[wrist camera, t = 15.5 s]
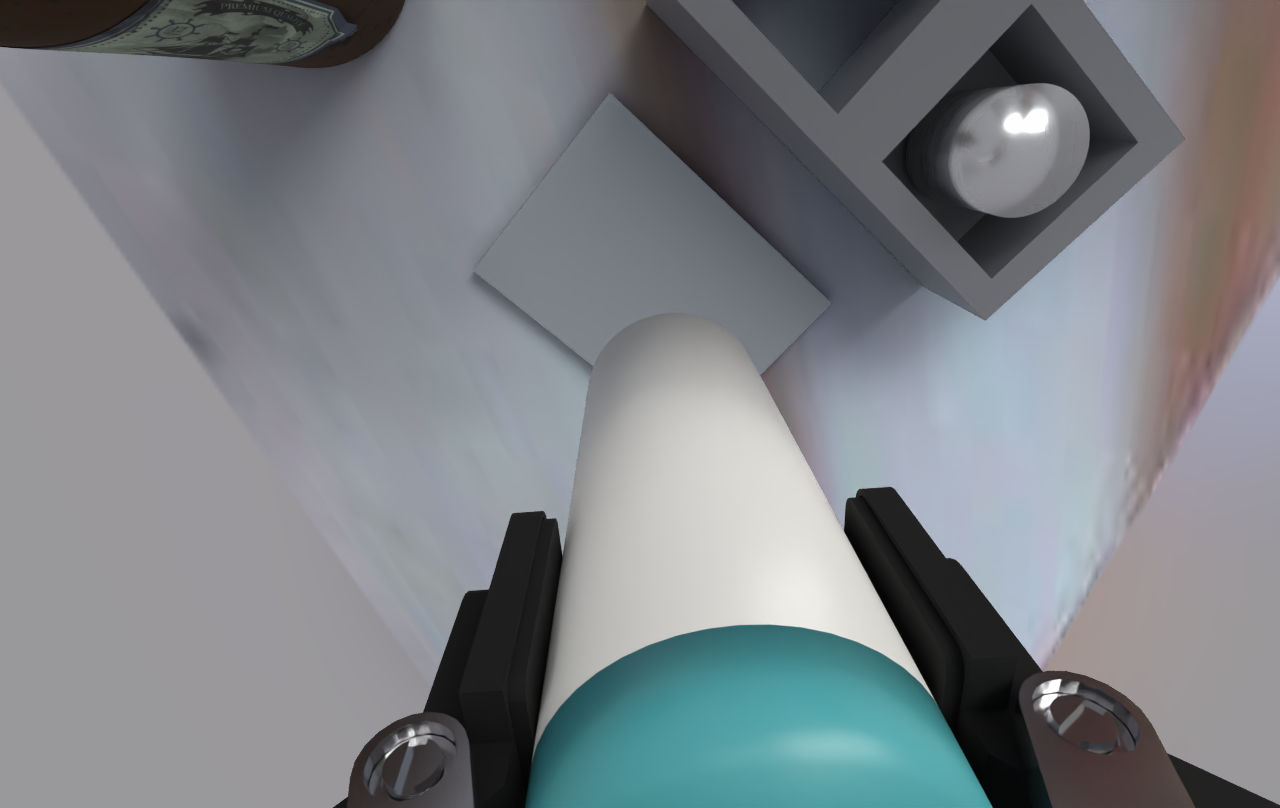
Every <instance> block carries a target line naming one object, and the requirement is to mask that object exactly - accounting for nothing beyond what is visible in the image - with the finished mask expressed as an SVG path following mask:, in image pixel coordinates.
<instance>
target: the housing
mask: <svg viewBox="0 0 1280 808" xmlns="http://www.w3.org/2000/svg"><path fill="white" fill-rule="evenodd" d="M646 5H647V6H648V7H649V8H650V9H651V10H652V11H653V12H654V13H655V14H656V15H657V16H658V17H659V18H660V19H661V20H662V21H663V22H664V23H665V24H666V25H667V26H668V27H669V28H670V29H671V30H672V31H673V32H674V33H675V34H676V35H677V36H678V37H679V38H680V39H681V40H682V42H683V43H684V44H685V45H686V46H687V47H688V48H689V49H690V50H691V51H692V52H693V53H694V54H695V55H696V56H697V57H698V58H699V59H700V60H701V61H702V62H703V63H704V64H705V65H706V66H707V67H708V68H709V69H710V70H711V71H712V72H713V73H714V74H715V75H716V76H717V77H718V78H719V79H720V80H721V81H722V82H723V83H724V84H725V85H726V86H727V87H728V88H729V89H730V90H731V91H732V92H733V93H734V94H735V95H736V96H737V97H738V99H739V100H740V101H741V102H742V103H743V104H744V105H745V106H746V107H747V108H748V109H749V110H750V111H751V112H752V113H753V114H754V115H755V116H756V117H757V118H758V119H759V120H760V121H761V122H762V123H763V124H764V125H765V126H766V127H767V128H768V129H769V130H770V131H771V132H772V133H773V134H774V135H775V136H776V137H777V138H778V139H779V140H780V141H781V142H782V143H783V144H784V145H785V146H786V147H787V148H788V149H789V150H790V151H791V152H792V153H793V154H794V155H795V157H796V158H797V159H798V160H799V161H800V162H801V163H802V164H803V165H804V166H805V167H806V168H807V169H808V170H809V171H810V172H811V173H812V174H813V175H814V176H815V177H816V178H817V179H818V180H819V181H820V182H821V183H822V184H823V185H824V186H825V187H826V188H827V189H828V190H829V191H830V192H831V193H832V194H833V195H834V196H835V197H836V198H837V199H838V200H839V201H840V202H841V203H842V204H843V205H844V206H845V207H846V208H847V209H848V210H849V211H850V212H851V214H852V215H853V216H854V217H855V218H856V219H857V220H858V221H859V222H860V223H861V224H862V225H863V226H864V227H865V228H866V229H867V230H868V231H869V232H870V233H871V234H872V235H873V236H874V237H875V238H876V239H877V240H878V241H879V242H880V243H881V244H882V245H883V246H884V247H885V248H886V249H887V250H888V251H889V252H890V253H891V254H892V255H893V256H894V257H895V258H896V259H897V260H898V261H899V262H900V263H901V264H902V265H903V266H904V267H905V268H906V269H907V270H908V272H909V273H910V274H911V275H912V276H913V277H914V278H915V279H916V280H917V281H918V282H919V283H920V284H921V285H922V286H923V287H925V288H927V289H929V290H931V291H932V292H934V293H936V294H938V295H940V296H942V297H943V298H945V299H947V300H949V301H951V302H952V303H954V304H956V305H958V306H960V307H962V308H963V309H965V310H967V311H969V312H971V313H973V314H974V315H976V316H978V317H980V318H982V319H984V320H987V319H988V318H989V317H990V316H991V315H992V314H993V313H994V312H995V311H996V310H998V309H999V308H1000V307H1001V306H1002V305H1003V304H1004V303H1005V302H1006V301H1007V300H1009V299H1010V298H1011V297H1012V296H1013V295H1014V294H1015V293H1016V292H1017V291H1018V290H1020V289H1021V288H1022V287H1023V286H1024V285H1025V284H1026V283H1027V282H1028V281H1029V280H1031V279H1032V278H1033V277H1034V276H1035V275H1036V274H1037V273H1038V272H1039V271H1040V270H1042V269H1043V268H1044V267H1045V266H1046V265H1047V264H1048V263H1049V262H1050V261H1052V260H1053V259H1054V258H1055V257H1056V256H1057V255H1058V254H1059V253H1060V252H1061V251H1063V250H1064V249H1065V248H1066V247H1067V246H1068V245H1069V244H1070V243H1071V242H1072V241H1074V240H1075V239H1076V238H1077V237H1078V236H1079V235H1080V234H1081V233H1082V232H1083V231H1085V230H1086V229H1087V228H1088V227H1089V226H1090V225H1091V224H1092V223H1093V222H1094V221H1096V220H1097V219H1098V218H1099V217H1100V216H1101V215H1102V214H1103V213H1104V212H1105V211H1107V210H1108V209H1109V208H1110V207H1111V206H1112V205H1113V204H1114V203H1115V202H1116V201H1118V200H1119V199H1120V198H1121V197H1122V196H1123V195H1124V194H1125V193H1126V192H1127V191H1129V190H1130V189H1131V188H1132V187H1133V186H1134V185H1135V184H1136V183H1137V182H1138V181H1140V180H1141V179H1142V178H1143V177H1144V176H1145V175H1146V174H1147V173H1148V172H1150V171H1151V170H1152V169H1153V168H1154V167H1155V166H1156V165H1157V164H1158V163H1159V162H1161V161H1162V160H1163V159H1164V158H1165V157H1166V156H1167V155H1168V154H1169V153H1170V152H1172V151H1173V150H1174V149H1175V148H1176V147H1177V146H1178V145H1179V144H1180V143H1181V142H1183V141H1184V140H1185V137H1184V136H1183V135H1182V133H1181V132H1180V131H1179V129H1178V128H1177V127H1176V125H1175V124H1174V123H1173V121H1172V120H1171V119H1170V117H1169V116H1168V115H1167V113H1166V112H1165V111H1164V109H1163V108H1162V106H1161V105H1160V104H1159V102H1158V101H1157V100H1156V98H1155V97H1154V96H1153V94H1152V93H1151V92H1150V90H1149V89H1148V88H1147V86H1146V85H1145V84H1144V82H1143V81H1142V80H1141V78H1140V77H1139V75H1138V74H1137V73H1136V71H1135V70H1134V69H1133V67H1132V66H1131V65H1130V63H1129V62H1128V61H1127V59H1126V58H1125V57H1124V55H1123V54H1122V53H1121V51H1120V50H1119V49H1118V47H1117V46H1116V44H1115V43H1114V42H1113V40H1112V39H1111V38H1110V36H1109V35H1108V34H1107V32H1106V31H1105V30H1104V28H1103V27H1102V26H1101V24H1100V23H1099V22H1098V20H1097V19H1096V18H1095V16H1094V15H1093V13H1092V12H1091V11H1090V9H1089V8H1088V7H1087V5H1086V4H1085V3H1084V1H1083V0H899V1H898V2H897V3H896V5H895V6H894V7H893V8H892V9H891V10H890V11H889V12H888V14H887V15H886V16H885V17H884V18H883V19H882V20H881V22H880V23H879V24H878V25H877V26H876V27H875V28H874V30H873V31H872V32H871V33H870V34H869V35H868V36H867V37H866V39H865V40H864V41H863V42H862V43H861V44H860V45H859V47H858V48H857V49H856V50H855V51H854V52H853V53H852V55H851V56H850V57H849V58H848V59H847V60H846V61H845V62H844V64H843V65H842V66H841V67H840V68H839V69H838V70H837V72H836V73H835V74H834V75H833V76H832V77H831V78H830V80H829V81H828V82H827V83H826V84H825V85H824V86H823V87H822V89H821V90H820V91H819V92H817V91H816V90H815V89H814V88H813V87H812V86H811V85H810V84H809V83H808V82H807V81H806V80H805V79H804V77H803V76H802V75H801V74H800V73H799V72H798V71H797V70H796V69H795V68H794V67H793V66H792V65H791V64H790V62H789V61H788V60H787V59H786V58H785V57H784V56H783V55H782V54H781V53H780V52H779V51H778V50H777V49H776V47H775V46H774V45H773V44H772V43H771V42H770V41H769V40H768V39H767V38H766V37H765V36H764V35H763V34H762V32H761V31H760V30H759V29H758V28H757V27H756V26H755V25H754V24H753V23H752V22H751V21H750V20H749V19H748V17H747V16H746V15H745V14H744V13H743V12H742V11H741V10H740V9H739V8H738V7H737V6H736V5H735V4H734V2H733V1H732V0H647V2H646ZM1035 83H1046V84H1053V85H1056V86H1059V87H1061V88H1063V89H1065V90H1067V91H1069V92H1070V93H1071V94H1073V95H1074V96H1075V97H1076V98H1077V99H1078V101H1079V102H1080V103H1081V105H1082V106H1083V108H1084V110H1085V113H1086V115H1087V119H1088V122H1089V130H1090V141H1089V148H1088V152H1087V156H1086V159H1085V162H1084V165H1083V167H1082V169H1081V171H1080V173H1079V175H1078V176H1077V178H1076V179H1075V181H1074V182H1073V184H1072V185H1071V186H1070V188H1069V189H1068V190H1067V191H1066V192H1065V193H1064V194H1063V195H1062V196H1061V197H1060V198H1059V199H1058V200H1056V201H1055V202H1054V203H1052V204H1051V205H1049V206H1048V207H1046V208H1044V209H1043V210H1041V211H1039V212H1036V213H1034V214H1031V215H1027V216H1023V217H1016V218H1007V217H1000V216H996V215H991V214H987V213H983V212H979V211H975V210H971V209H967V208H963V207H959V206H955V205H951V204H947V203H943V202H939V201H936V200H933V199H930V198H928V197H927V196H925V195H924V194H922V193H921V192H920V191H919V190H918V189H917V188H916V186H915V185H914V184H913V182H912V180H911V178H910V176H909V173H908V169H907V163H906V151H907V144H908V141H909V137H910V135H911V132H912V130H913V128H914V127H915V126H916V125H917V124H918V123H919V122H920V121H921V120H922V119H923V118H924V117H925V116H926V114H927V113H928V112H929V111H930V110H931V109H932V108H933V107H934V106H935V105H936V104H937V103H938V102H939V101H940V100H941V99H942V98H943V97H944V96H947V95H949V94H951V93H955V92H958V91H965V90H975V89H985V88H995V87H1005V86H1015V85H1025V84H1035Z"/></svg>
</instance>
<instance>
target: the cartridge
mask: <svg viewBox="0 0 1280 808" xmlns="http://www.w3.org/2000/svg"><path fill="white" fill-rule="evenodd" d="M525 808H993V807H992V805H991V804H990V802H989V800H988V798H987V796H986V794H985V792H984V791H983V789H982V787H981V785H980V783H979V781H978V779H977V778H976V776H975V774H974V772H973V770H972V768H971V766H970V765H969V763H968V761H967V759H966V757H965V755H964V753H963V752H962V750H961V748H960V746H959V744H958V742H957V740H956V739H955V737H954V735H953V733H952V731H951V729H950V727H949V726H948V724H947V722H946V720H945V718H944V716H943V714H942V713H941V711H940V709H939V707H938V705H937V703H936V701H935V700H934V698H933V696H932V694H931V692H930V690H929V688H928V687H927V685H926V683H925V681H924V679H923V677H922V675H921V674H920V672H919V670H918V668H917V666H916V664H915V662H914V661H913V659H912V657H911V655H910V653H909V651H908V649H907V648H906V646H905V644H904V642H903V640H902V638H901V636H900V635H899V633H898V631H897V629H896V627H895V625H894V623H893V622H892V620H891V618H890V616H889V614H888V612H887V610H886V609H885V607H884V605H883V603H882V601H881V599H880V597H879V596H878V594H877V592H876V590H875V588H874V586H873V584H872V583H871V581H870V579H869V577H868V575H867V573H866V571H865V570H864V568H863V566H862V564H861V562H860V560H859V558H858V557H857V555H856V553H855V551H854V549H853V547H852V545H851V544H850V542H849V540H848V538H847V536H846V534H845V532H844V531H843V529H842V527H841V525H840V523H839V521H838V519H837V518H836V516H835V514H834V512H833V510H832V508H831V506H830V505H829V503H828V501H827V499H826V497H825V495H824V493H823V492H822V490H821V488H820V486H819V484H818V482H817V480H816V479H815V477H814V475H813V473H812V471H811V469H810V467H809V466H808V464H807V462H806V460H805V458H804V456H803V454H802V453H801V451H800V449H799V447H798V445H797V443H796V441H795V440H794V438H793V436H792V434H791V432H790V430H789V428H788V427H787V425H786V423H785V421H784V419H783V417H782V415H781V414H780V412H779V410H778V408H777V406H776V404H775V402H774V401H773V399H772V397H771V395H770V393H769V391H768V389H767V388H766V386H765V384H764V382H763V380H762V378H761V376H760V375H759V373H758V371H757V369H756V367H755V365H754V363H753V362H752V360H751V358H750V356H749V354H748V352H747V351H746V349H745V348H744V346H743V345H742V344H741V342H740V341H739V340H738V339H737V338H736V337H735V336H734V335H733V334H732V333H731V332H729V331H728V330H727V329H725V328H724V327H722V326H721V325H719V324H717V323H715V322H714V321H711V320H709V319H706V318H704V317H700V316H696V315H692V314H684V313H666V314H658V315H654V316H650V317H647V318H644V319H641V320H639V321H637V322H634V323H633V324H631V325H629V326H627V327H626V328H624V329H623V330H621V331H620V332H619V333H617V334H616V335H615V336H614V337H613V338H612V339H611V340H610V341H609V342H608V343H607V344H606V346H605V347H604V348H603V350H602V351H601V352H600V354H599V356H598V358H597V359H596V361H595V364H594V366H593V369H592V371H591V375H590V379H589V385H588V391H587V398H586V405H585V411H584V418H583V425H582V431H581V438H580V445H579V451H578V458H577V465H576V471H575V478H574V484H573V491H572V498H571V504H570V511H569V518H568V524H567V531H566V538H565V544H564V551H563V558H562V564H561V571H560V577H559V584H558V591H557V597H556V604H555V611H554V617H553V624H552V631H551V637H550V644H549V651H548V657H547V664H546V671H545V677H544V684H543V690H542V697H541V704H540V710H539V717H538V724H537V730H536V737H535V744H534V750H533V757H532V764H531V770H530V777H529V783H528V790H527V797H526V803H525Z"/></svg>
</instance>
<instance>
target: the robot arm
mask: <svg viewBox="0 0 1280 808" xmlns="http://www.w3.org/2000/svg"><path fill="white" fill-rule="evenodd" d="M844 532H845V534H846V536H847V538H848V540H849V542H850V544H851V545H852V547H853V549H854V551H855V553H856V555H857V557H858V558H859V560H860V562H861V564H862V566H863V568H864V570H865V571H866V573H867V575H868V577H869V579H870V581H871V583H872V584H873V586H874V588H875V590H876V592H877V594H878V596H879V597H880V599H881V601H882V603H883V605H884V607H885V609H886V610H887V612H888V614H889V616H890V618H891V620H892V622H893V623H894V625H895V627H896V629H897V631H898V633H899V635H900V636H901V638H902V640H903V642H904V644H905V646H906V648H907V649H908V651H909V653H910V655H911V657H912V659H913V661H914V662H915V664H916V666H917V668H918V670H919V672H920V674H921V675H922V677H923V679H924V681H925V683H926V685H927V687H928V688H929V690H930V692H931V694H932V696H933V698H934V700H935V701H936V703H937V705H938V707H939V709H940V711H941V713H942V714H943V716H944V718H945V720H946V722H947V724H948V726H949V727H950V729H951V731H952V733H953V735H954V737H955V739H956V740H957V742H958V744H959V746H960V748H961V750H962V752H963V753H964V755H965V757H966V759H967V761H968V763H969V765H970V766H971V768H972V770H973V772H974V774H975V776H976V778H977V779H978V781H979V783H980V785H981V787H982V789H983V791H984V792H985V794H986V796H987V798H988V800H989V802H990V804H991V805H992V807H993V808H1280V805H1278V804H1276V803H1274V802H1272V801H1269V800H1267V799H1265V798H1263V797H1261V796H1258V795H1256V794H1254V793H1252V792H1250V791H1248V790H1246V789H1244V788H1241V787H1239V786H1237V785H1235V784H1233V783H1230V782H1228V781H1226V780H1224V779H1222V778H1220V777H1218V776H1215V775H1213V774H1211V773H1209V772H1207V771H1205V770H1203V769H1200V768H1198V767H1196V766H1194V765H1192V764H1190V763H1187V762H1185V761H1183V760H1181V759H1179V758H1177V757H1174V756H1172V755H1170V754H1168V753H1167V752H1166V751H1165V749H1164V747H1163V745H1162V743H1161V741H1160V740H1159V737H1158V735H1157V734H1156V731H1155V730H1154V728H1153V726H1152V724H1151V723H1150V721H1149V720H1148V719H1147V717H1146V716H1145V714H1144V713H1143V712H1142V710H1141V709H1140V708H1139V707H1138V706H1136V705H1135V704H1134V703H1133V702H1132V701H1131V700H1130V699H1128V698H1127V697H1126V696H1125V695H1123V694H1121V693H1120V692H1118V691H1117V690H1115V689H1113V688H1112V687H1110V686H1109V685H1107V684H1105V683H1102V682H1100V681H1097V680H1095V679H1093V678H1090V677H1087V676H1085V675H1080V674H1076V673H1071V672H1067V671H1045V672H1042V670H1041V669H1040V668H1039V666H1038V665H1037V664H1036V662H1035V661H1034V660H1033V658H1032V657H1031V656H1030V655H1029V653H1028V652H1027V651H1026V649H1025V648H1024V647H1023V645H1022V644H1021V643H1020V641H1019V640H1018V639H1017V638H1016V636H1015V635H1014V634H1013V632H1012V631H1011V630H1010V628H1009V627H1008V626H1007V624H1006V623H1005V622H1004V621H1003V619H1002V618H1001V617H1000V615H999V614H998V613H997V611H996V610H995V609H994V607H993V606H992V605H991V603H990V602H989V601H988V600H987V598H986V597H985V596H984V594H983V593H982V592H981V590H980V589H979V588H978V586H977V585H976V584H975V583H974V581H973V580H972V579H971V577H970V576H969V575H968V573H967V572H966V571H965V569H964V568H963V567H962V566H961V565H960V564H959V563H958V562H957V561H956V560H954V559H951V558H945V556H944V555H943V554H942V552H941V551H940V550H939V548H938V547H937V546H936V544H935V543H934V542H933V540H932V539H931V537H930V536H929V535H928V533H927V532H926V531H925V529H924V528H923V527H922V525H921V524H920V523H919V521H918V520H917V519H916V517H915V516H914V515H913V513H912V512H911V510H910V509H909V508H908V506H907V505H906V504H905V502H904V501H903V500H902V498H901V497H900V496H899V494H898V493H897V492H896V490H895V489H894V488H893V487H883V488H868V489H859V490H858V491H857V494H856V498H848V499H847V502H846V510H845V526H844ZM561 564H562V550H561V543H560V536H559V529H558V523H557V519H556V518H554V519H546V515H545V512H544V511H537V512H523V513H513V514H512V515H511V518H510V521H509V524H508V528H507V531H506V534H505V538H504V541H503V544H502V548H501V551H500V555H499V558H498V561H497V565H496V568H495V571H494V575H493V578H492V581H491V585H490V588H489V590H477V591H468V592H467V593H466V594H465V596H464V598H463V600H462V603H461V606H460V608H459V611H458V614H457V617H456V620H455V623H454V626H453V628H452V631H451V634H450V637H449V640H448V643H447V646H446V649H445V651H444V654H443V657H442V660H441V663H440V666H439V669H438V671H437V674H436V677H435V680H434V683H433V686H432V689H431V692H430V694H429V698H428V700H427V703H426V706H425V709H424V712H423V713H419V714H413V715H410V716H407V717H405V718H402V719H400V720H397V721H395V722H394V723H392V724H390V725H389V726H387V727H386V728H384V729H383V730H381V731H379V732H378V733H377V734H376V735H375V736H374V737H373V738H372V739H371V740H370V741H369V742H368V743H367V744H366V745H365V746H364V748H363V749H362V751H361V752H360V754H359V756H358V757H357V759H356V761H355V763H354V766H353V770H352V773H351V776H350V784H349V793H348V797H347V798H346V799H344V800H343V801H341V802H340V803H339V804H337V805H336V806H335V807H333V808H525V803H526V797H527V790H528V783H529V777H530V770H531V764H532V757H533V750H534V744H535V737H536V730H537V724H538V717H539V710H540V704H541V697H542V690H543V684H544V677H545V671H546V664H547V657H548V651H549V644H550V637H551V631H552V624H553V617H554V611H555V604H556V597H557V591H558V584H559V577H560V571H561Z"/></svg>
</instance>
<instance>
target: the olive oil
mask: <svg viewBox="0 0 1280 808" xmlns="http://www.w3.org/2000/svg"><path fill="white" fill-rule="evenodd" d="M404 2H405V0H0V47H8V48H22V49H39V50H58V51H77V52H97V53H116V54H135V55H153V56H168V57H182V58H197V59H211V60H226V61H239V62H249V63H259V64H274V65H283V66H292V67H303V68H323V67H331V66H336V65H340V64H343V63H346V62H349V61H351V60H354V59H356V58H358V57H360V56H361V55H363V54H365V53H366V52H368V51H369V50H370V49H372V48H373V47H374V46H375V45H377V44H378V43H379V42H380V41H381V40H382V39H383V38H384V36H385V35H386V34H387V33H388V32H389V30H390V29H391V27H392V26H393V24H394V23H395V21H396V19H397V18H398V16H399V14H400V12H401V9H402V7H403V5H404Z"/></svg>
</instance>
